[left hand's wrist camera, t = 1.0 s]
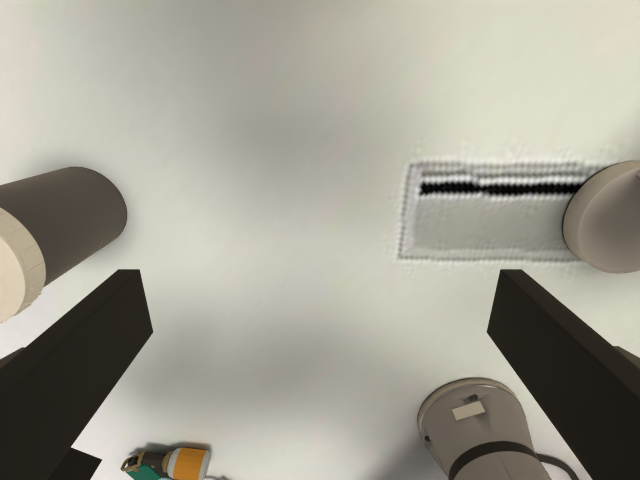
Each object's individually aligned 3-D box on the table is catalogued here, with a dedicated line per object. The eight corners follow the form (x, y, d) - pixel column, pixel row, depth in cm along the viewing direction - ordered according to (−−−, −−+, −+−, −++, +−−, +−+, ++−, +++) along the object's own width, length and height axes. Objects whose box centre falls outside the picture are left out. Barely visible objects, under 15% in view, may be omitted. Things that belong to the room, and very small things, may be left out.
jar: (141, 201, 40) (42, 258, 26) (105, 258, 43) (-3, 338, 29) (64, 149, 38) (-92, 178, 24) (31, 212, 41) (-127, 274, 26)
